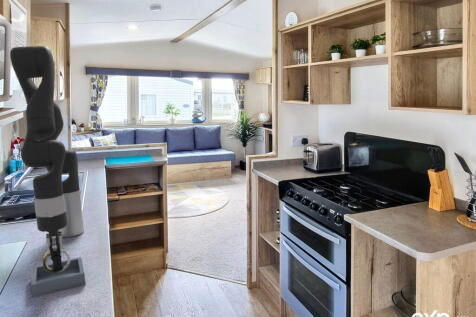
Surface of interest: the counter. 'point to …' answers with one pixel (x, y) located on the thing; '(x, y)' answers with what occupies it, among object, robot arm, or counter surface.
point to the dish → (57, 278)
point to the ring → (49, 255)
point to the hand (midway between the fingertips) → (58, 269)
